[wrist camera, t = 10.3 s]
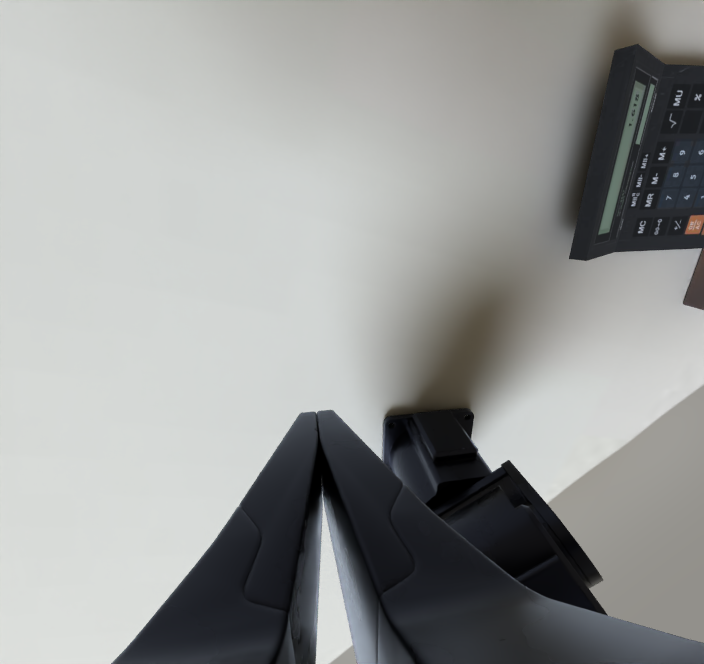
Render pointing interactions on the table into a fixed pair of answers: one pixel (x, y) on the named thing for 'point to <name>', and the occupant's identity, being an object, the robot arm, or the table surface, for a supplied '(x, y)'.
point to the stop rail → (696, 286)
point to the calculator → (645, 161)
